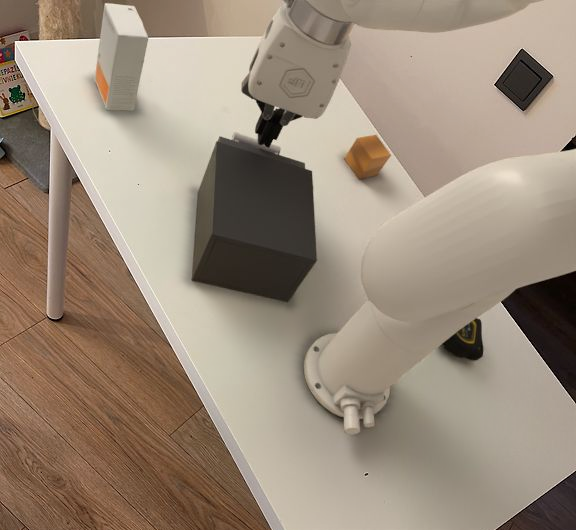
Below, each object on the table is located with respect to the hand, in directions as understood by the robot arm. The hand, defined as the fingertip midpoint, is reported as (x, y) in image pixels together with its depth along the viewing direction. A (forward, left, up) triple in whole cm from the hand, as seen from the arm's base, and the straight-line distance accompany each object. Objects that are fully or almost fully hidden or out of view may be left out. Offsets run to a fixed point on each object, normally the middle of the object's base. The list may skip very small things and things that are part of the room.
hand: (263, 138), depth 81 cm
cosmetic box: (+10, +20, -9) cm, 24 cm away
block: (+12, -21, -9) cm, 26 cm away
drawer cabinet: (-12, 0, -9) cm, 15 cm away
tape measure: (-20, -35, -9) cm, 41 cm away
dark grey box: (-6, 0, -8) cm, 10 cm away
